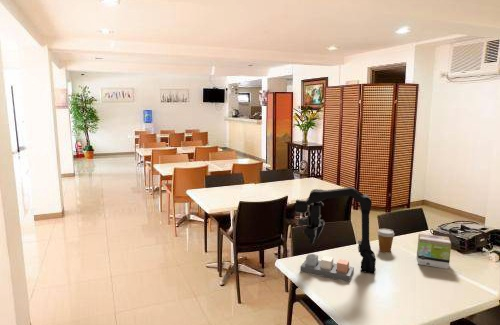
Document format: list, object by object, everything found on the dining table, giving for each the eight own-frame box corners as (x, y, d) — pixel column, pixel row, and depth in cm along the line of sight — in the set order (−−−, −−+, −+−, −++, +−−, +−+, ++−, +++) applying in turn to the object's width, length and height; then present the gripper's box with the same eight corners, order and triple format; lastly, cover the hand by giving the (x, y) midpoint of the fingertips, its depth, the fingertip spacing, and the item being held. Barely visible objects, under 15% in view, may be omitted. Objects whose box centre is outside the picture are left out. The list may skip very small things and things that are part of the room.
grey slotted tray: (353, 272, 180) (353, 267, 179) (349, 282, 170) (349, 276, 170) (306, 263, 191) (306, 258, 190) (300, 271, 181) (300, 266, 181)
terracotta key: (348, 270, 178) (349, 260, 177) (346, 274, 173) (347, 264, 173) (338, 268, 180) (339, 258, 179) (336, 272, 176) (337, 262, 175)
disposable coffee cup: (396, 253, 204) (397, 233, 202) (379, 253, 204) (380, 233, 202) (389, 247, 213) (391, 228, 211) (374, 247, 213) (375, 228, 212)
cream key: (333, 267, 181) (333, 257, 181) (330, 270, 177) (331, 261, 176) (323, 265, 184) (323, 256, 183) (320, 269, 179) (321, 259, 178)
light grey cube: (317, 264, 185) (318, 255, 184) (315, 267, 180) (315, 258, 180) (308, 262, 187) (308, 253, 186) (305, 266, 183) (306, 256, 182)
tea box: (417, 265, 189) (419, 238, 186) (416, 257, 198) (418, 232, 196) (449, 269, 183) (451, 242, 181) (446, 262, 192) (448, 236, 190)
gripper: (305, 207, 197) (305, 234, 199) (293, 216, 180) (293, 245, 183) (325, 210, 192) (324, 237, 194) (314, 219, 175) (314, 248, 178)
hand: (313, 241), depth 187 cm, fingers open, 9 cm apart
